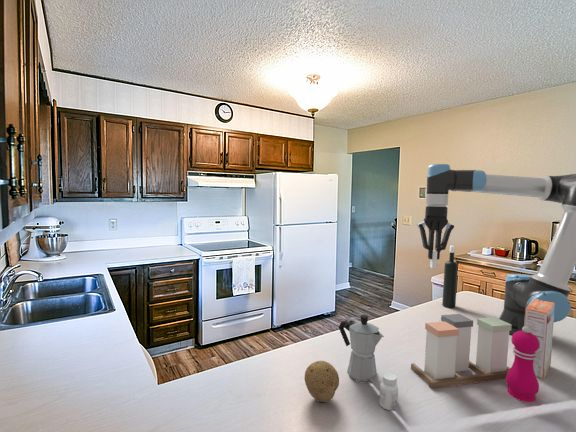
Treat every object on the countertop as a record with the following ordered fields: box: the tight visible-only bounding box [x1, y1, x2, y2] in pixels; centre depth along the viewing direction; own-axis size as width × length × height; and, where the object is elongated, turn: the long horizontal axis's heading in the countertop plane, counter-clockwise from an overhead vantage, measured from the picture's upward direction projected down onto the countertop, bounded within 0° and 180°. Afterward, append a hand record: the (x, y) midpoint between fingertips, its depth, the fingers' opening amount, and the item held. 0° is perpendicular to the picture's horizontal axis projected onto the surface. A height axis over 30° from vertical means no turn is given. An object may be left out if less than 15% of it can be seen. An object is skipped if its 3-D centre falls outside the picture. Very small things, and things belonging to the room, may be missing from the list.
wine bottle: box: [441, 244, 459, 309], centre depth 159 cm, size 6×6×30 cm
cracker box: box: [524, 299, 555, 379], centre depth 102 cm, size 14×6×21 cm, turn 134°
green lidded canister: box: [475, 316, 512, 373], centre depth 98 cm, size 6×7×16 cm
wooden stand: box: [410, 360, 511, 390], centre depth 98 cm, size 13×31×3 cm, turn 103°
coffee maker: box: [338, 314, 385, 383], centre depth 97 cm, size 15×9×18 cm, turn 47°
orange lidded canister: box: [423, 321, 459, 380], centre depth 93 cm, size 6×7×16 cm
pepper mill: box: [505, 326, 540, 403], centre depth 87 cm, size 7×7×20 cm
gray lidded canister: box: [440, 313, 474, 373], centre depth 100 cm, size 6×7×16 cm
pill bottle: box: [379, 372, 399, 411], centre depth 83 cm, size 4×4×8 cm
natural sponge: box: [304, 360, 340, 403], centre depth 85 cm, size 9×9×10 cm
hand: (433, 267), depth 125 cm, fingers closed
